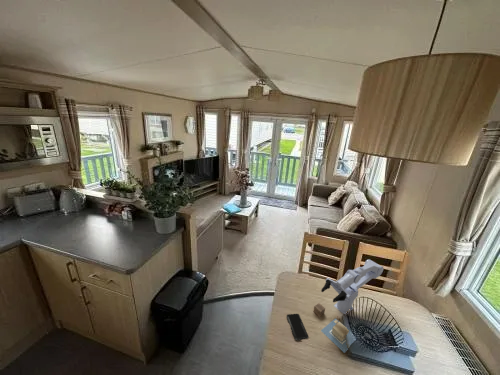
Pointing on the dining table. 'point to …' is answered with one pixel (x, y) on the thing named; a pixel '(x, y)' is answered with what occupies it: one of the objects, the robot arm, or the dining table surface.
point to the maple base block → (340, 331)
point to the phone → (297, 327)
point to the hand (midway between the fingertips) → (327, 295)
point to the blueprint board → (332, 337)
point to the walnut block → (319, 309)
